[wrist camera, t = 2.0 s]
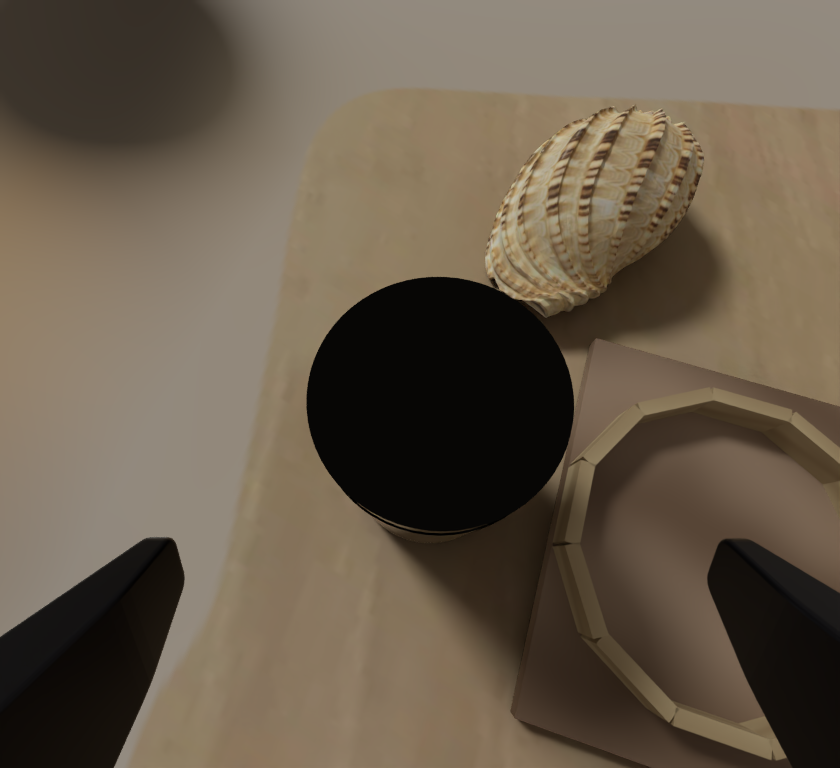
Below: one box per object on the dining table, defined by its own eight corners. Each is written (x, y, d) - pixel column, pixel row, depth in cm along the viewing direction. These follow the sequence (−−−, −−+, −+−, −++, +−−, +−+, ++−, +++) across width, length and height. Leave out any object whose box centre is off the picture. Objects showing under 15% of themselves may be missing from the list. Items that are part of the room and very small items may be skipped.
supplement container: (533, 493, 19) (631, 437, 10) (402, 577, 18) (390, 593, 9) (452, 371, 20) (479, 237, 12) (328, 441, 19) (260, 349, 11)
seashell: (620, 348, 24) (692, 145, 23) (665, 349, 18) (765, 75, 17) (470, 304, 25) (532, 104, 24) (466, 291, 19) (549, 24, 18)
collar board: (851, 833, 15) (923, 878, 13) (510, 711, 16) (524, 734, 14) (856, 421, 20) (910, 405, 18) (589, 346, 21) (609, 321, 19)
